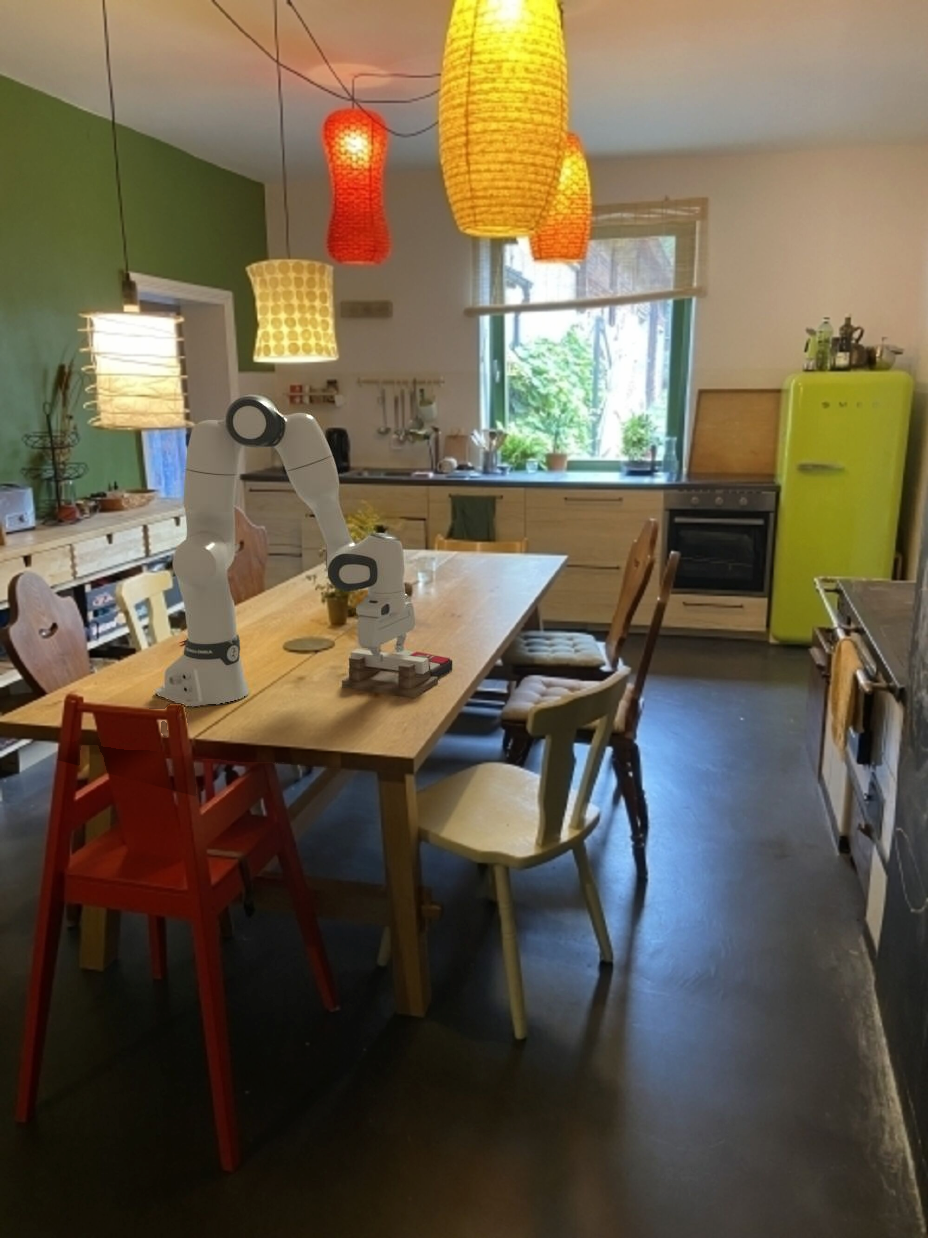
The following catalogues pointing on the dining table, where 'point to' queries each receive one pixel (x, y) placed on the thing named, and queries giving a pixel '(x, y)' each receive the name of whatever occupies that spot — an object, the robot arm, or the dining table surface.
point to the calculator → (432, 663)
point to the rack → (388, 678)
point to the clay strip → (393, 661)
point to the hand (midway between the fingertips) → (389, 656)
